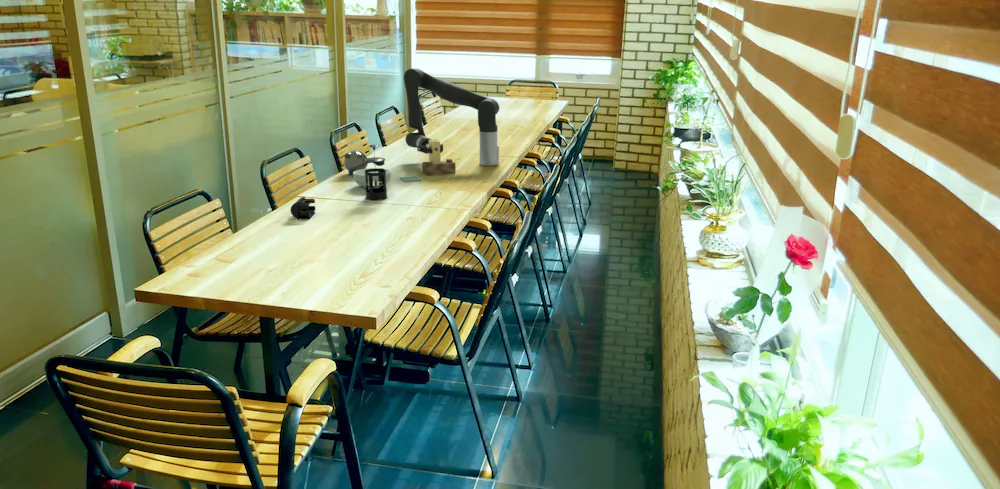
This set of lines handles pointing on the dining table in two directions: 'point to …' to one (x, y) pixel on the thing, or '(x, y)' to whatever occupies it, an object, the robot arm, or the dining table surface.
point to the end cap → (303, 208)
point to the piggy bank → (355, 161)
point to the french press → (372, 192)
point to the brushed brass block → (434, 152)
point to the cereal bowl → (361, 180)
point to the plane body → (439, 168)
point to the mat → (410, 178)
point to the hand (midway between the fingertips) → (436, 151)
